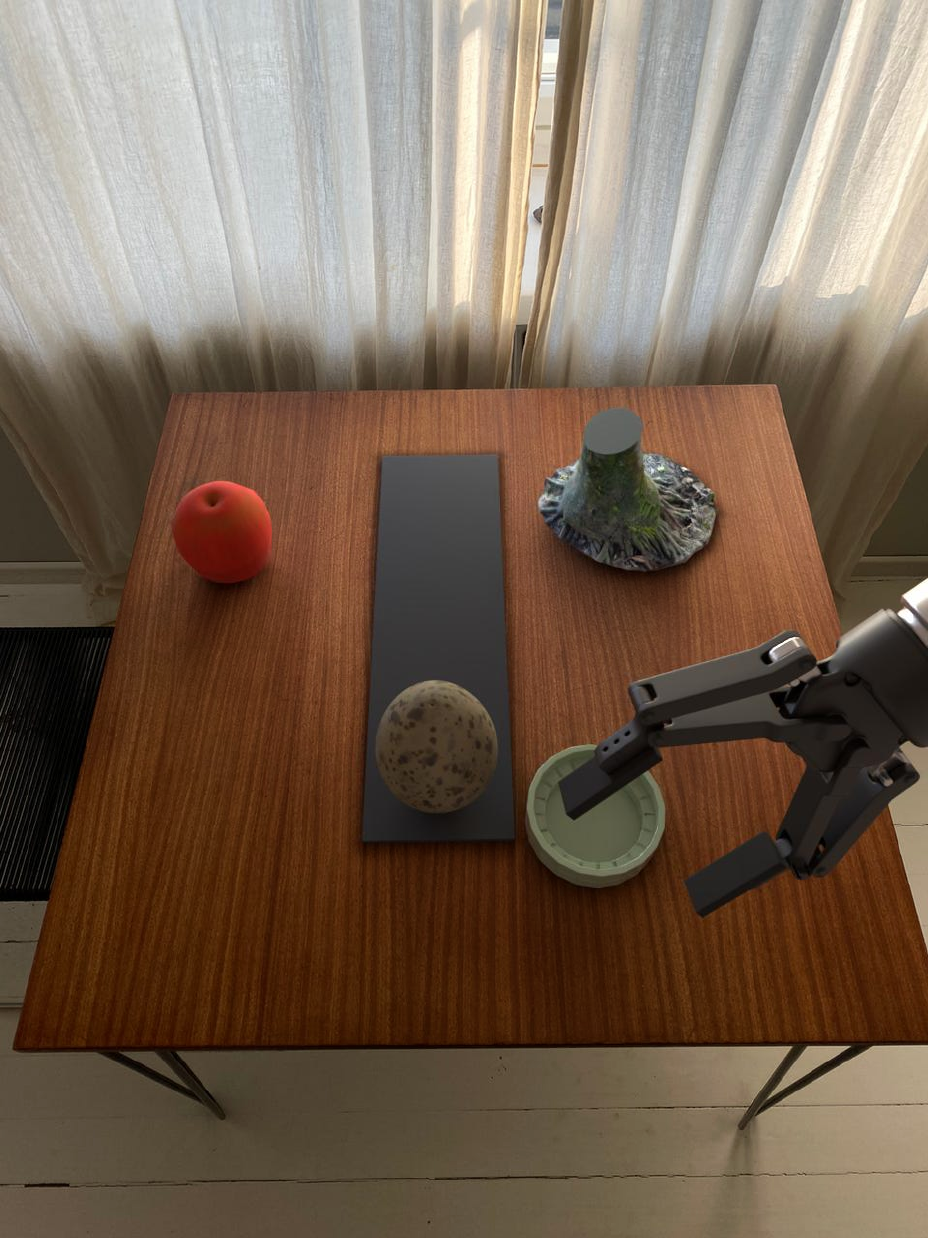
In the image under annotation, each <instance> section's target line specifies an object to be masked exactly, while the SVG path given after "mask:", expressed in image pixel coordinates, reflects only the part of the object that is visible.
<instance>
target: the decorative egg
mask: <svg viewBox="0 0 928 1238" xmlns="http://www.w3.org/2000/svg"><path fill="white" fill-rule="evenodd" d="M497 755H498V744H497V737H496V732H495V728H494V725H493V723H492V720H491V718H490V716H489V714H488V713H487V711H486V709H485V708H484V707H483V705H482V704H481V703H480V702H479V701H478V700H477V699H476V698H475V697H474V696H473V695H472V694H471V693H470V692H468V691H467V690H465V689H464V688H462V687H460V686H458V685H455V684H453V683H450V682H445V681H438V680H433V681H425V682H421V683H418V684H415V685H413V686H411V687H409V688H407V689H406V690H404V691H403V692H402V693H400V694H399V695H398V696H397V697H396V698H395V699H394V700H393V701H392V703H391V704H390V705H389V707H388V708H387V710H386V711H385V713H384V715H383V717H382V719H381V722H380V725H379V728H378V732H377V737H376V759H377V764H378V768H379V771H380V774H381V776H382V778H383V780H384V782H385V784H386V785H387V787H388V788H389V790H390V791H391V792H392V793H393V794H394V795H395V796H396V797H397V798H398V799H399V800H400V801H402V802H403V803H405V804H406V805H408V806H410V807H412V808H414V809H417V810H420V811H423V812H428V813H447V812H451V811H455V810H458V809H460V808H463V807H465V806H466V805H468V804H470V803H471V802H472V801H474V800H475V799H476V798H477V797H478V796H479V795H480V794H481V793H482V792H483V791H484V790H485V788H486V787H487V785H488V784H489V782H490V780H491V778H492V776H493V773H494V770H495V767H496V762H497Z"/></svg>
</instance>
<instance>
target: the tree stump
mask: <svg viewBox="0 0 928 1238" xmlns="http://www.w3.org/2000/svg"><path fill="white" fill-rule="evenodd" d="M643 430H644V425H643V420H642V419H641V418H640V417H639V415H637V414H636V412H634V411H632V410H630V409H629V408H627V407H619V406H615V407H610V408H605V409H604V410H601V411H599V412H598V413H596V414H594V415H593V416H592V417H591V418H590V419H589V420H588V421H587V423H586V425H585V426H584V430H583V437H582V444H581V448H580V449H581V450H580V457H579V458H578V459H576V460H575V461H573V462H572V463H570V465H565V467H563V468H562V467H558V468H556V469H555V470H554V471H553V475H551V478H550V477H545V478H544V483H543V485H544V489H543V490H542V493H541V495H540V496H539V498H538V501H537V503H538V507H537V508H538V512H539V513H540V514H541V515H542V517H543V520H544V524H545V525H546V526H547V527H548V529H550V530H552V531H553V532H554V534H555V535H556V536H557V538H558V539H559V540H561V541H562V542H563V543H566V544H568V545H570V546H571V547H572V548H574V549H575V550H576V551H578V552H581V553H582V554H584V555H585V556H587V557H589V558H591V559H592V560H594V561H596V562H597V563H602V564H604V565H607V566H611V567H613V568H619V569H622V570H626V571H638V572H643V573H646V572H657V571H660V570H663V569H666V568H671V567H675V566H678V565H681V564H682V565H683V564H685V563H686V562H687V561H688V560H689V559H690V558H691V557H692V556H693V555H694V554H696V553H697V552H699V551H701V550H702V549H704V547H705V546H707V545H708V544H709V542H710V539H711V537H712V532H713V528H714V525H715V520H716V516H717V512H718V510H717V508H716V506H715V504H714V501H715V500H716V492H715V491H712V489H711V488H709V487H708V488H707V487H706V484H705V483H704V482H703V481H702V480H701V479H700V478H699V477H697V476H695V475H694V474H693V473H692V470H690V469H688V468H687V467H684V466H682V465H680V464H679V463H677V462H675V461H674V460H672V459H670V458H669V457H667V456H665V455H663V454H658V453H650V452H649V453H648V452H645V451H643V447H642V437H643Z"/></svg>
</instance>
